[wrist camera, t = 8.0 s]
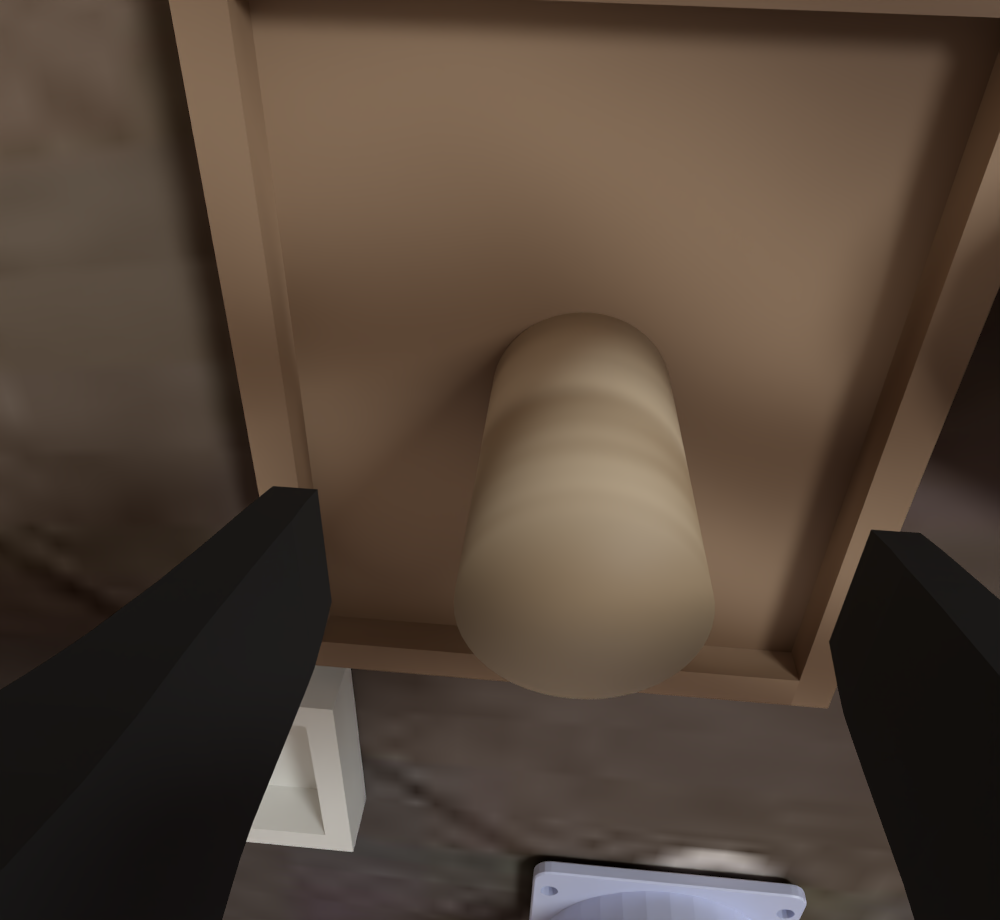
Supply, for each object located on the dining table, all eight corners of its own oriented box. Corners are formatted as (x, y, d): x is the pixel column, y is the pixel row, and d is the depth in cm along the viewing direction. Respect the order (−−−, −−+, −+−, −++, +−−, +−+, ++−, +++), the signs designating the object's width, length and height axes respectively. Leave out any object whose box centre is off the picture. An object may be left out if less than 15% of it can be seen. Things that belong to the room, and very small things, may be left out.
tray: (814, 665, 18) (827, 708, 17) (305, 624, 19) (289, 663, 18) (1085, -57, 10) (1139, -55, 9) (191, -87, 11) (152, -89, 10)
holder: (366, 798, 23) (353, 851, 21) (164, 779, 23) (139, 831, 22) (349, 656, 19) (332, 709, 18) (112, 636, 20) (79, 687, 18)
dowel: (653, 474, 15) (687, 710, 11) (488, 458, 15) (451, 686, 11) (686, 320, 13) (742, 526, 9) (497, 304, 13) (457, 499, 9)
